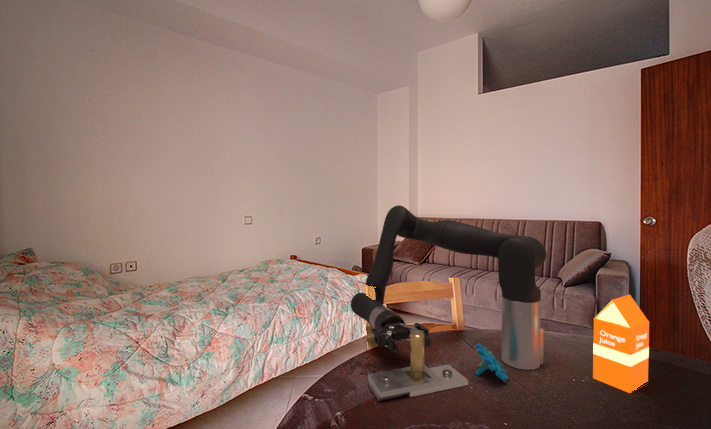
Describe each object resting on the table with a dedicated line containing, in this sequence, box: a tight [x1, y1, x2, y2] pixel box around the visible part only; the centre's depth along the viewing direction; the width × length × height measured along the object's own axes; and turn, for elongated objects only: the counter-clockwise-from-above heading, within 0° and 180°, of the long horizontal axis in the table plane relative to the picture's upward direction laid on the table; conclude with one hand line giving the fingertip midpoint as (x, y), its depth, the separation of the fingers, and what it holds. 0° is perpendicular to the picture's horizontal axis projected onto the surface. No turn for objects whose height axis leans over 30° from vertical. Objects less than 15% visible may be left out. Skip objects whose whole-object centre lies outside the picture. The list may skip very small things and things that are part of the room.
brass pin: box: [409, 332, 425, 382], centre depth 80 cm, size 3×3×12 cm
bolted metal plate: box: [367, 363, 469, 402], centre depth 80 cm, size 22×8×3 cm, turn 108°
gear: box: [474, 342, 510, 382], centre depth 84 cm, size 11×6×10 cm
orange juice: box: [592, 294, 650, 394], centre depth 81 cm, size 8×9×20 cm
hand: (413, 345), depth 82 cm, fingers open, 8 cm apart
